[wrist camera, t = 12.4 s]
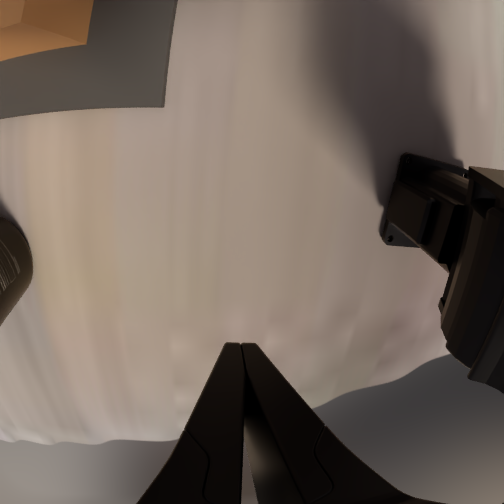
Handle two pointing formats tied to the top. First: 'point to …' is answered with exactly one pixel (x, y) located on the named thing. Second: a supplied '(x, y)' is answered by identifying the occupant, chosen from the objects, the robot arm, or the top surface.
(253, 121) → the top surface
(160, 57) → the dark gray mat
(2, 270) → the supplement bottle
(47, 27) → the rounded wooden cube
